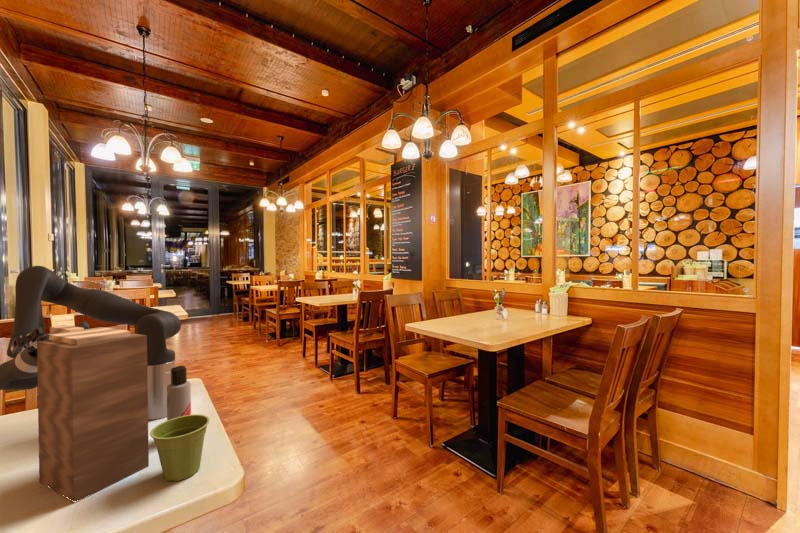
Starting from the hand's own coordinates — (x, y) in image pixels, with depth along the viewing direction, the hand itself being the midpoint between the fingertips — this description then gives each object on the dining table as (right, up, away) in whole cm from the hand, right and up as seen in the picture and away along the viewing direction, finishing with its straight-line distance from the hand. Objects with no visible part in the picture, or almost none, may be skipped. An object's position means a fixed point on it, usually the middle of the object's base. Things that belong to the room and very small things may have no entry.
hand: (64, 327), depth 86 cm
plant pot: (+33, -34, -5) cm, 47 cm away
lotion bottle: (+22, -33, +11) cm, 41 cm away
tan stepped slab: (+7, -1, -3) cm, 8 cm away
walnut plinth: (+13, -33, -6) cm, 36 cm away
